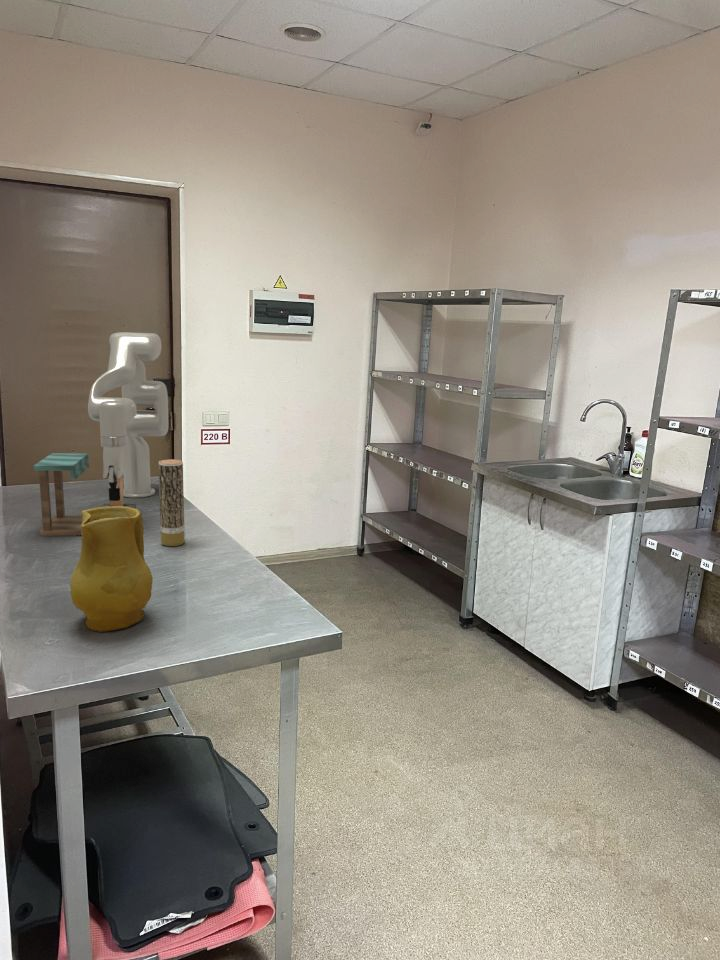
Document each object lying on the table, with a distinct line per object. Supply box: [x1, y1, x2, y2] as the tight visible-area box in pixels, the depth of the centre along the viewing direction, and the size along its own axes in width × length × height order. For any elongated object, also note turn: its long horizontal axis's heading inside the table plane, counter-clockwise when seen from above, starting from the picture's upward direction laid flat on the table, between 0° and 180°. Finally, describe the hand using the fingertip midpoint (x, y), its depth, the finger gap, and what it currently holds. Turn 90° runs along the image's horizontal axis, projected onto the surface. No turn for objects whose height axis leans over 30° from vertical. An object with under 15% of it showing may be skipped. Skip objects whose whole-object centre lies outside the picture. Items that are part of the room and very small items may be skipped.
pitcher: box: [69, 506, 153, 633], centre depth 149 cm, size 17×19×25 cm
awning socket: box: [33, 452, 137, 537], centre depth 212 cm, size 18×27×22 cm, turn 98°
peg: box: [108, 473, 124, 507], centre depth 213 cm, size 4×4×14 cm
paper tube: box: [158, 459, 185, 547], centre depth 200 cm, size 7×7×25 cm
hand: (116, 498), depth 213 cm, fingers closed on peg, 4 cm apart
